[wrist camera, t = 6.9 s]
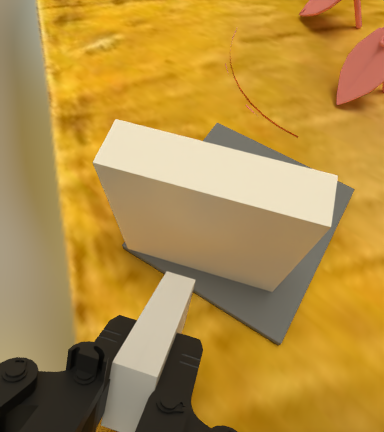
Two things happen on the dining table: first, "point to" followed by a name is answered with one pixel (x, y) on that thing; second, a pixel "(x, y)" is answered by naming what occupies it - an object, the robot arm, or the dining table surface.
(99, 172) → the tile
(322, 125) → the dining table surface
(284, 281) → the mat
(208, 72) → the dining table surface
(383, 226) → the dining table surface
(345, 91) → the figurine
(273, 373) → the dining table surface
